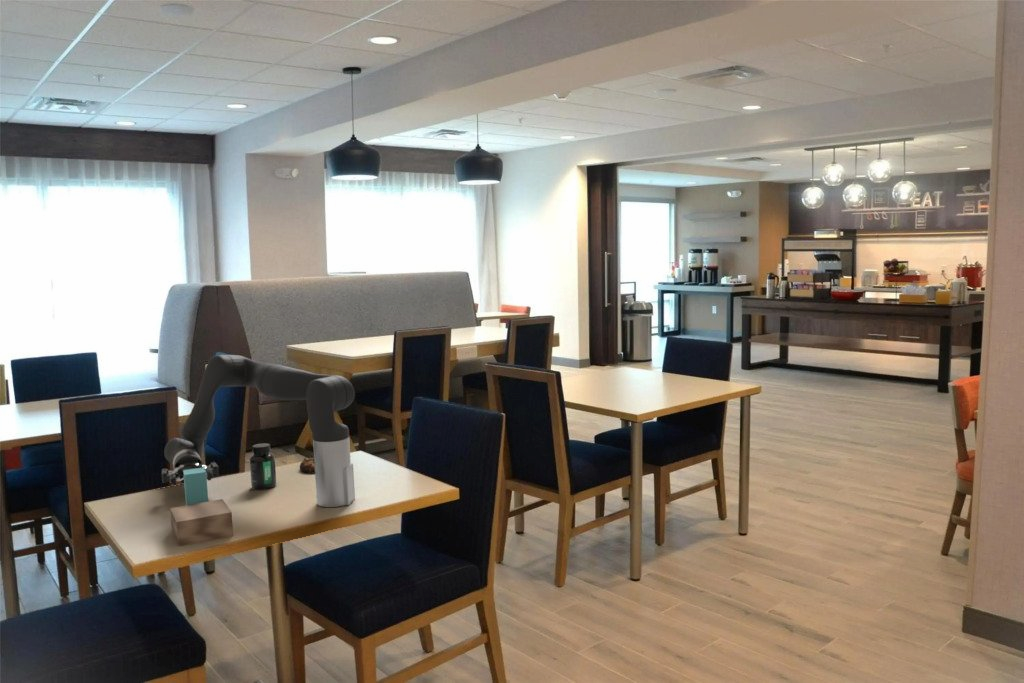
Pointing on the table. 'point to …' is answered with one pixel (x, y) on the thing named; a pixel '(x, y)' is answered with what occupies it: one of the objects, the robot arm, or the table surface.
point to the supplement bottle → (262, 467)
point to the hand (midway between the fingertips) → (192, 479)
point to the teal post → (195, 486)
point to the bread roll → (308, 465)
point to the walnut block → (201, 522)
